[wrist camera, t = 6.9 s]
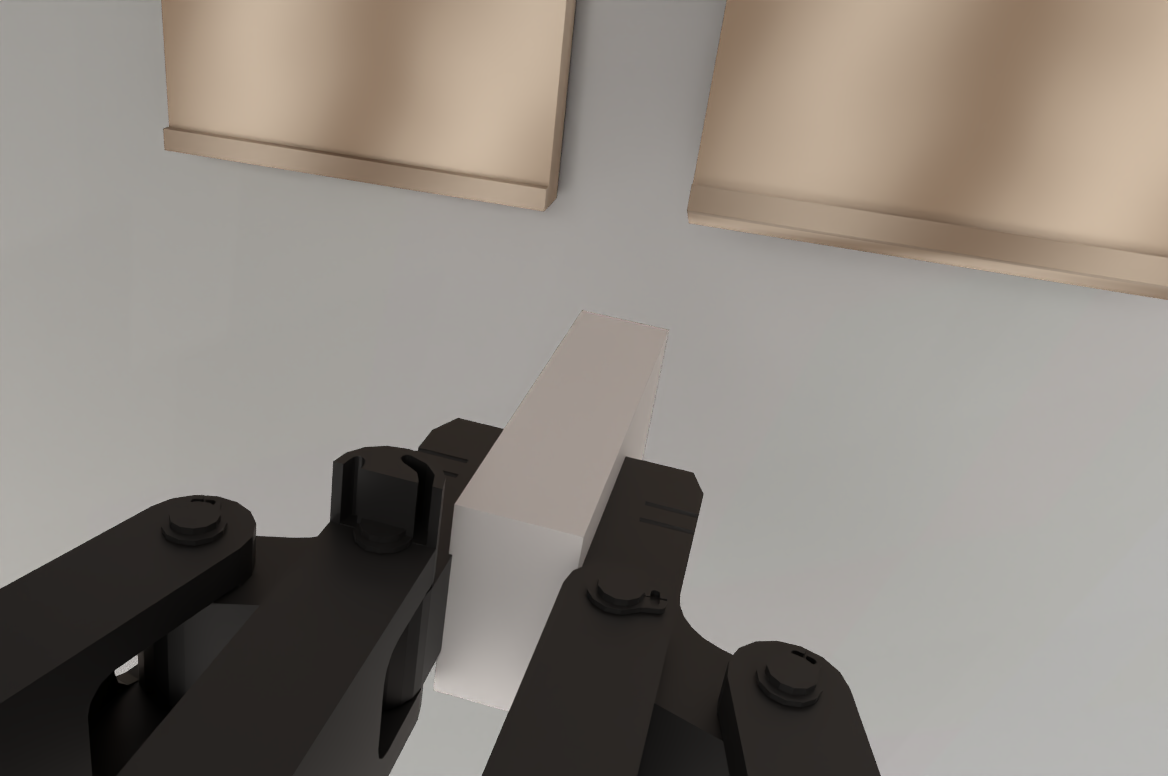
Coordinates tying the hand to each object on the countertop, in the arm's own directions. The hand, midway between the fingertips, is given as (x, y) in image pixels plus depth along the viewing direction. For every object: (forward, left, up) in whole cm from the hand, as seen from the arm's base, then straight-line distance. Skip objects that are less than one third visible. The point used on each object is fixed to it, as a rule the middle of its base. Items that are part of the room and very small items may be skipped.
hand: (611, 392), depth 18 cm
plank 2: (+6, +4, -10) cm, 13 cm away
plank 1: (-9, +4, -12) cm, 16 cm away
